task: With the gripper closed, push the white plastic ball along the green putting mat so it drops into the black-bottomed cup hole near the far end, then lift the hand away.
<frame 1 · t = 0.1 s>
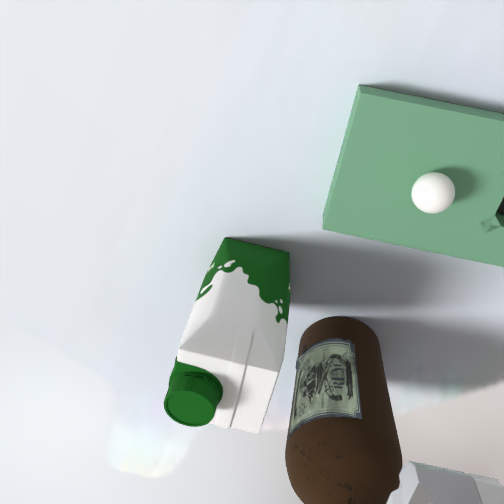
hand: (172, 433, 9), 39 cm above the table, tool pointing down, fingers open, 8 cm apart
putting mat: (455, 178, 45), on the table
brown cylinder: (339, 344, 58), on the table
golf ball: (432, 192, 41), point 5 cm above the table, touching putting mat
milk carton: (251, 269, 54), on the table
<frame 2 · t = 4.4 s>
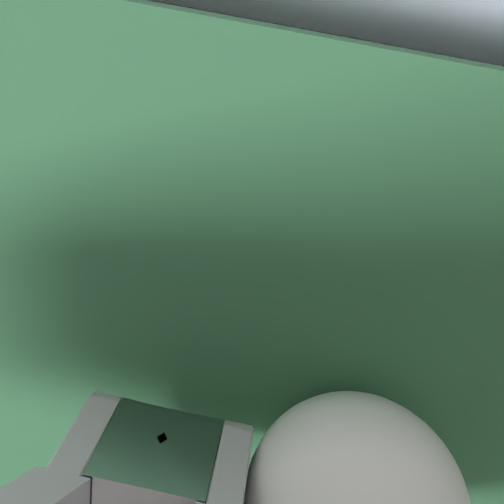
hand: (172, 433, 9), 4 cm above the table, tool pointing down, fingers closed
putting mat: (450, 354, 12), on the table
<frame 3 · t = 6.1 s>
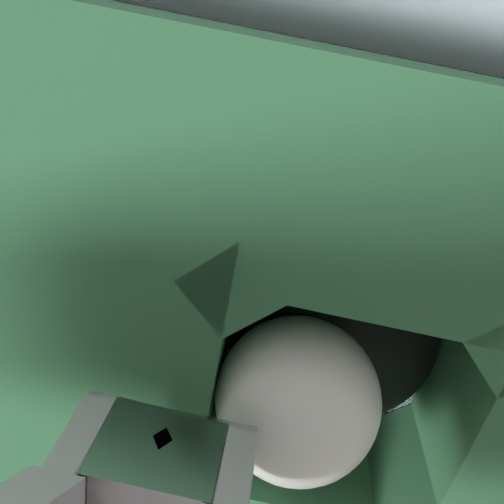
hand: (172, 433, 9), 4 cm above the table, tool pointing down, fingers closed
putting mat: (96, 287, 12), on the table
golf ball: (297, 397, 10), point 2 cm above the table, tilted 67°, touching putting mat
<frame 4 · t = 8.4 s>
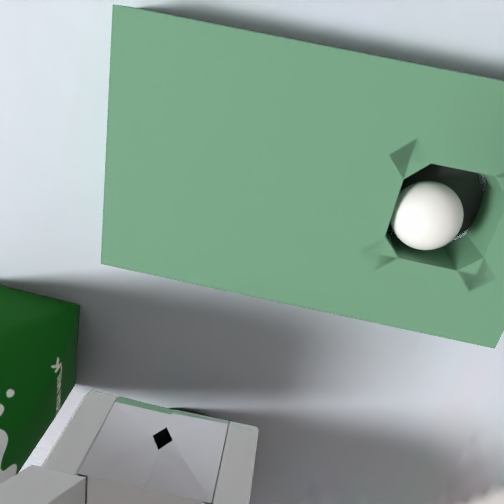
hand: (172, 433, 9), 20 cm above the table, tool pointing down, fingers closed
putting mat: (322, 177, 26), on the table
golf ball: (425, 215, 24), point 2 cm above the table, tilted 63°, touching putting mat
milk carton: (30, 332, 33), on the table
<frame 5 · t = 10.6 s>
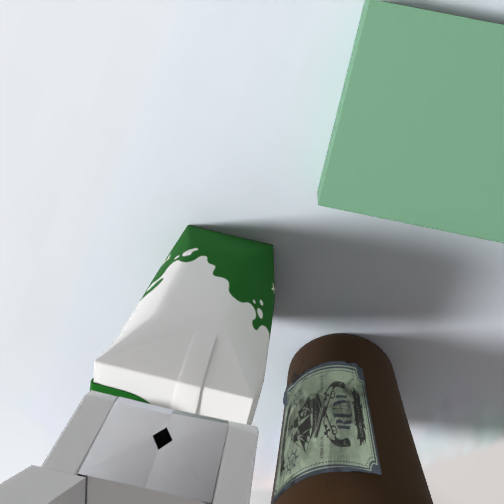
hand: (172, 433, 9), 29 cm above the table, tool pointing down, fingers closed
putting mat: (495, 135, 33), on the table
brown cylinder: (340, 373, 44), on the table
milk carton: (224, 270, 41), on the table
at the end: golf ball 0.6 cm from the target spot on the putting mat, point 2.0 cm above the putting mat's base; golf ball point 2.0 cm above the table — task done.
